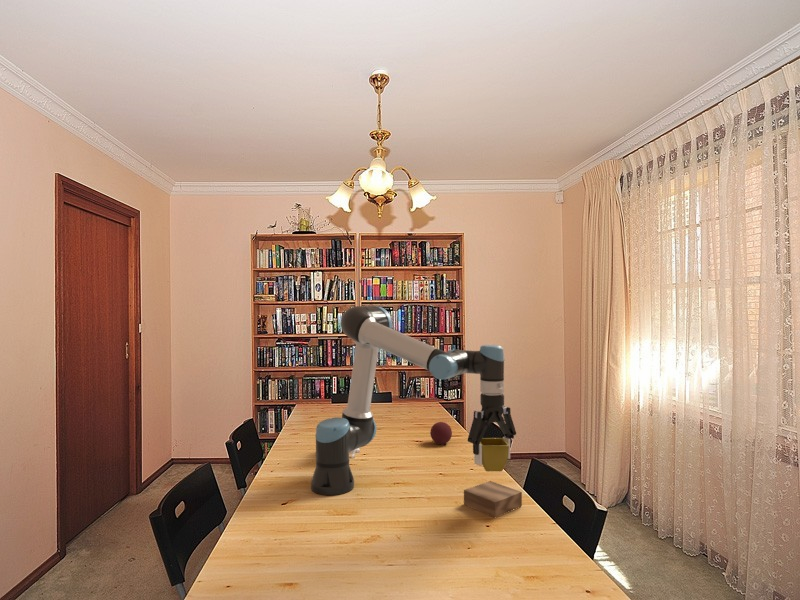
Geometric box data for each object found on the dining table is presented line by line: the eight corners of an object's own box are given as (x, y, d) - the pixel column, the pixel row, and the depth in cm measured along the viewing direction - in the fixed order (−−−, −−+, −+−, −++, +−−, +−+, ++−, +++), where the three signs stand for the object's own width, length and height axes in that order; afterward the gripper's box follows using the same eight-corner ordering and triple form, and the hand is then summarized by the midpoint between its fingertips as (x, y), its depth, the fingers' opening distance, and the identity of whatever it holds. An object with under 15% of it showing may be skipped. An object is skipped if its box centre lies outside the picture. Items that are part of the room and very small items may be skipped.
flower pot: (503, 464, 165) (502, 437, 165) (509, 473, 156) (509, 445, 156) (476, 465, 164) (476, 438, 164) (481, 474, 156) (481, 445, 156)
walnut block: (495, 518, 151) (495, 502, 151) (463, 505, 161) (463, 490, 161) (521, 507, 159) (521, 492, 159) (490, 495, 169) (490, 480, 169)
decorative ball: (428, 446, 226) (428, 424, 227) (432, 440, 236) (432, 419, 236) (450, 447, 224) (450, 425, 224) (453, 441, 234) (453, 420, 234)
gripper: (471, 399, 151) (471, 471, 151) (527, 391, 164) (527, 457, 163) (455, 395, 157) (456, 464, 157) (510, 388, 170) (511, 452, 170)
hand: (492, 461), depth 160 cm, fingers closed on flower pot, 11 cm apart
